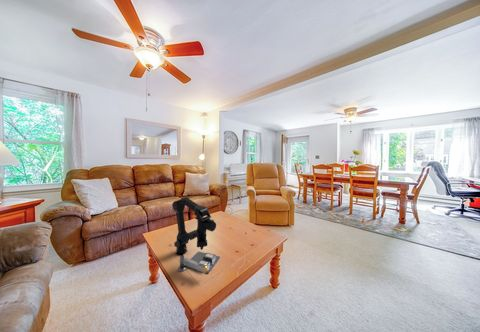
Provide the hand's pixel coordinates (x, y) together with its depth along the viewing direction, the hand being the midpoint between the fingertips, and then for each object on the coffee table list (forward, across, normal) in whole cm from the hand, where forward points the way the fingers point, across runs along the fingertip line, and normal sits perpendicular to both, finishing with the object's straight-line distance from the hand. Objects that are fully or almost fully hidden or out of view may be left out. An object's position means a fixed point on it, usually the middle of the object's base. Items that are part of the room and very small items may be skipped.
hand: (201, 249), depth 103 cm
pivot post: (+10, +2, -12) cm, 16 cm away
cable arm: (+6, +9, -4) cm, 11 cm away
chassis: (+10, -1, +1) cm, 10 cm away
